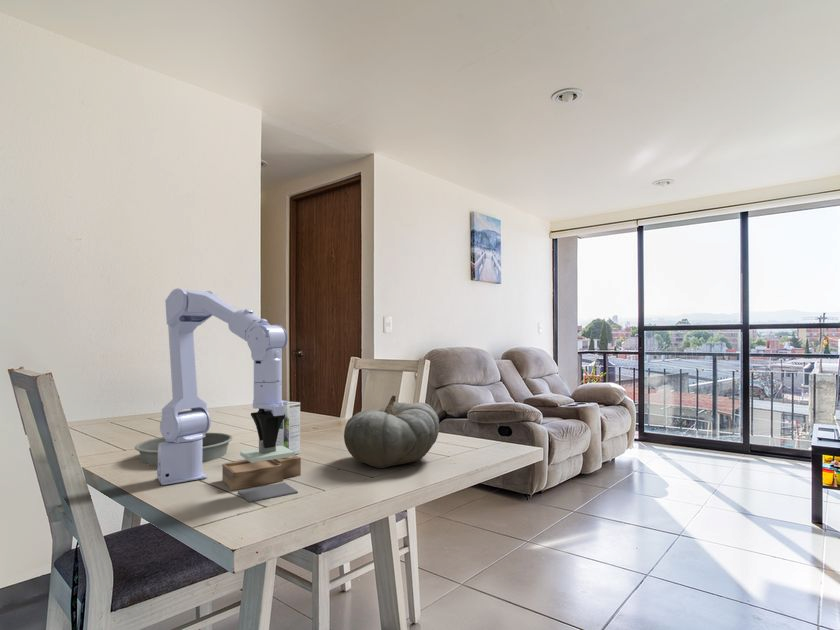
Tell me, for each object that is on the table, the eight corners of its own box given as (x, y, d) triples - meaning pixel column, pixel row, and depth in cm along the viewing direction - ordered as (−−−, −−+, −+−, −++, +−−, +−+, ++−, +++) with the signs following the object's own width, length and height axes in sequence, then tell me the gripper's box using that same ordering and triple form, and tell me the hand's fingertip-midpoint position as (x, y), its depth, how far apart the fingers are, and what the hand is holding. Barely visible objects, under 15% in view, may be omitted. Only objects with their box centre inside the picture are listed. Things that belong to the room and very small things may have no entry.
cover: (251, 462, 98) (251, 446, 98) (240, 455, 105) (240, 440, 105) (295, 455, 103) (294, 440, 104) (281, 449, 110) (281, 434, 110)
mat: (249, 502, 98) (249, 500, 98) (238, 492, 104) (238, 490, 104) (297, 492, 103) (297, 491, 103) (284, 483, 110) (284, 482, 110)
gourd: (463, 449, 129) (450, 384, 129) (397, 487, 111) (381, 412, 111) (397, 446, 146) (385, 388, 146) (330, 478, 128) (317, 413, 128)
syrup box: (270, 455, 137) (270, 402, 137) (285, 451, 142) (285, 400, 142) (286, 457, 134) (286, 404, 135) (301, 453, 139) (300, 401, 140)
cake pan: (210, 443, 155) (210, 429, 155) (248, 455, 138) (248, 439, 138) (122, 458, 137) (122, 441, 138) (153, 474, 120) (153, 455, 121)
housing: (233, 490, 106) (233, 471, 106) (222, 479, 114) (222, 461, 114) (304, 477, 115) (304, 459, 115) (289, 468, 123) (289, 451, 123)
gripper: (298, 382, 101) (298, 449, 101) (275, 378, 113) (275, 438, 113) (264, 384, 97) (264, 454, 97) (243, 380, 109) (243, 442, 108)
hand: (267, 446), depth 104 cm, fingers closed on cover, 2 cm apart
